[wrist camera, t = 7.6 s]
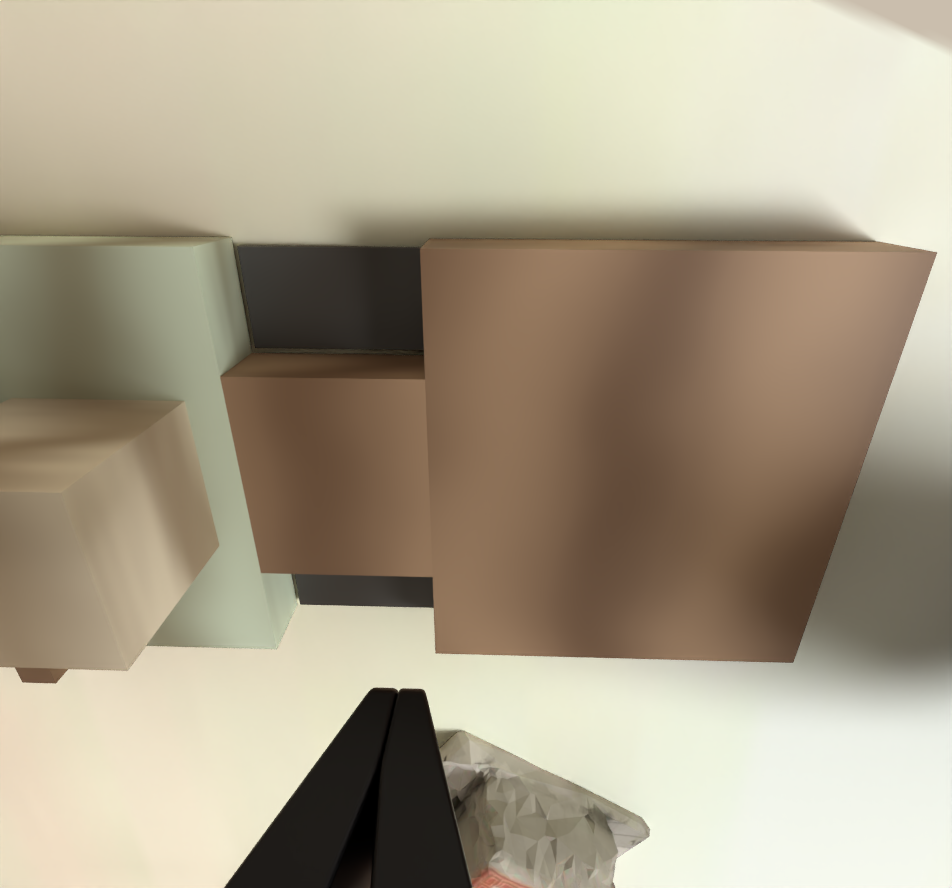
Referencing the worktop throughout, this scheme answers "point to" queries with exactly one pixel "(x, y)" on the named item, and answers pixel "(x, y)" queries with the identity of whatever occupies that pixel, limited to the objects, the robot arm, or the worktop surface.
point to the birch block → (96, 528)
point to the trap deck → (492, 425)
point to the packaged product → (532, 821)
